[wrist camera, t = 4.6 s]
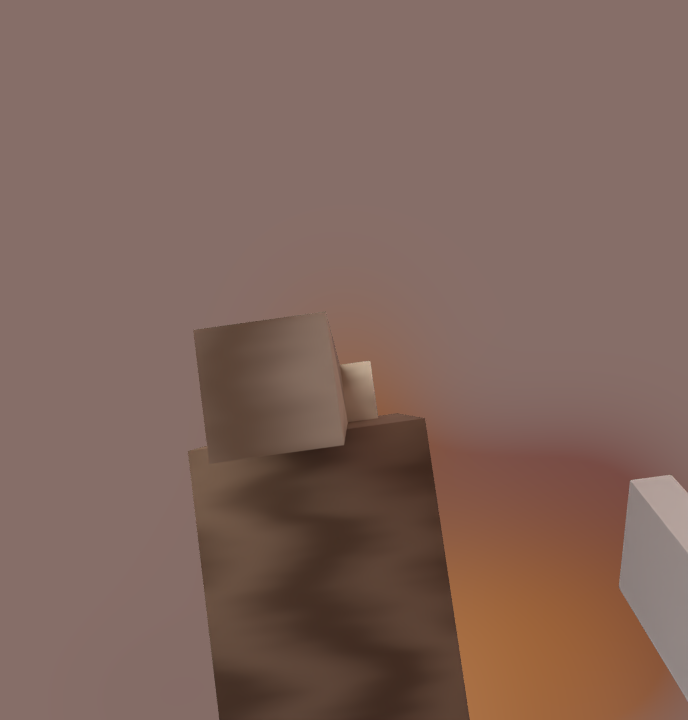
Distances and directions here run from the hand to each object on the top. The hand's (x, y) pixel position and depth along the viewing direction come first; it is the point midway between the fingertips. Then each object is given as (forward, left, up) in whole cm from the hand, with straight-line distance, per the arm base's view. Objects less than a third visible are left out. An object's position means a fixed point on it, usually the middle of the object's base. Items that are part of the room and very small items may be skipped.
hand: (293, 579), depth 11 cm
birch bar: (0, +15, +2) cm, 15 cm away
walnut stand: (0, +21, -28) cm, 35 cm away
